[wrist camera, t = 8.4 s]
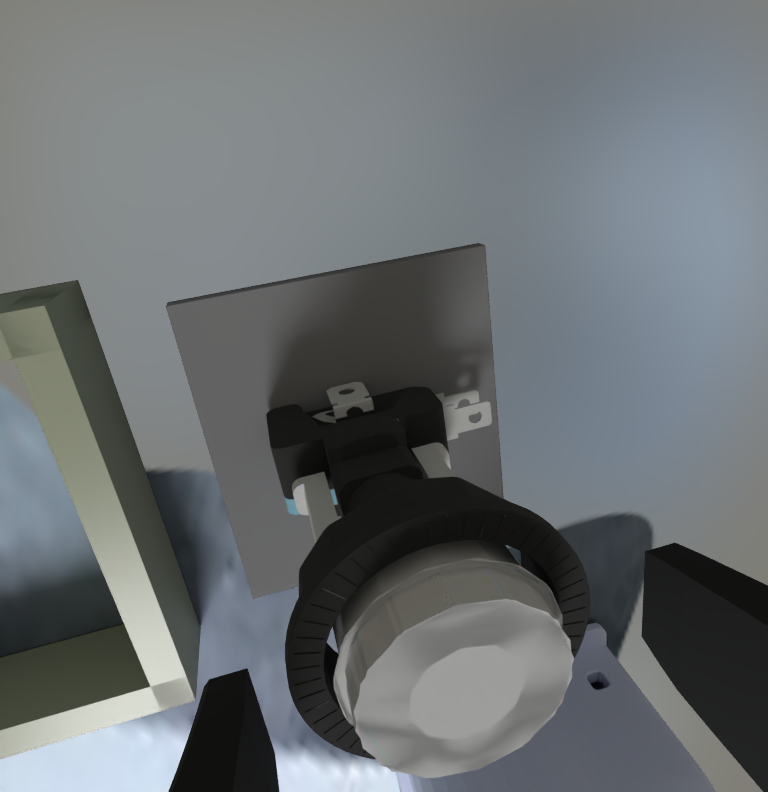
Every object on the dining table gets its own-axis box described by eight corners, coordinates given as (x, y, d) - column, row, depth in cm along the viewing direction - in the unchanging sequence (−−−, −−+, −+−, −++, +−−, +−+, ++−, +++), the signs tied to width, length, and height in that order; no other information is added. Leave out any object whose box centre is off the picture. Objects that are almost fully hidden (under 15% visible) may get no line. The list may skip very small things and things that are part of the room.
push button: (463, 315, 18) (707, 478, 9) (480, 468, 20) (689, 727, 11) (241, 367, 17) (252, 613, 8) (284, 521, 19) (332, 858, 10)
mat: (478, 243, 17) (485, 245, 17) (499, 521, 21) (505, 529, 21) (167, 302, 16) (165, 306, 16) (252, 588, 20) (252, 598, 19)
